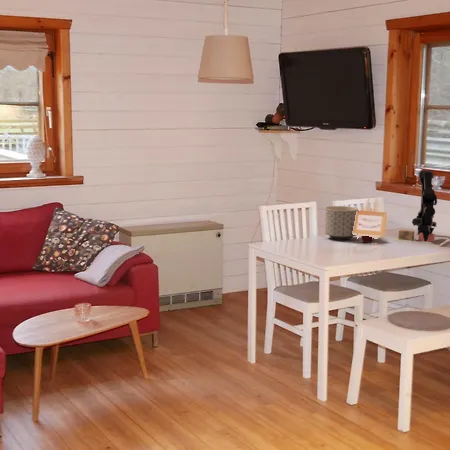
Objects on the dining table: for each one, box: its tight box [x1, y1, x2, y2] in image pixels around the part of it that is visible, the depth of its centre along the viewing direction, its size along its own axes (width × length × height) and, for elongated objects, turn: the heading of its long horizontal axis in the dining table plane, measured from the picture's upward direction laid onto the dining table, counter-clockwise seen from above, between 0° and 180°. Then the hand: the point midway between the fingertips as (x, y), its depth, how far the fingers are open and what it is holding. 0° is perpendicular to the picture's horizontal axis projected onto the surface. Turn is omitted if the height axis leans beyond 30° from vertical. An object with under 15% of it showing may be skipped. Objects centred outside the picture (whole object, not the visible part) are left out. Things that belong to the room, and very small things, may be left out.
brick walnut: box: [397, 229, 415, 241], centre depth 439 cm, size 8×4×5 cm, turn 60°
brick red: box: [417, 233, 436, 243], centre depth 436 cm, size 8×4×5 cm, turn 56°
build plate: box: [393, 236, 419, 243], centre depth 439 cm, size 12×12×1 cm
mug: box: [361, 236, 373, 244], centre depth 433 cm, size 10×8×10 cm
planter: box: [324, 205, 359, 241], centre depth 443 cm, size 19×19×18 cm
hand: (426, 240), depth 437 cm, fingers closed on brick red, 4 cm apart
